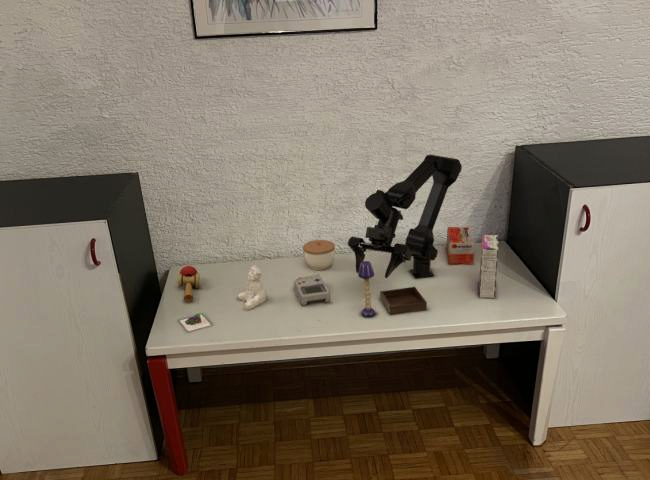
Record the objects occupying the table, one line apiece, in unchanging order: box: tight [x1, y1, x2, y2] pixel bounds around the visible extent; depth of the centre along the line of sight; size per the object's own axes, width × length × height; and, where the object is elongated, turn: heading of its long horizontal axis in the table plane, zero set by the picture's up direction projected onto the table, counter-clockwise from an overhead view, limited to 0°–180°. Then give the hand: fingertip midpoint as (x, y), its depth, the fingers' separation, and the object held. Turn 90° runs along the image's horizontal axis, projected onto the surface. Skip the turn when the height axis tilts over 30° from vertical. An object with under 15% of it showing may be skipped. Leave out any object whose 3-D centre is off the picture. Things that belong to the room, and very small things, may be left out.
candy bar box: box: [478, 234, 499, 299], centre depth 211 cm, size 11×5×16 cm, turn 168°
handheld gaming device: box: [293, 273, 331, 306], centre depth 218 cm, size 9×15×4 cm, turn 12°
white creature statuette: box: [238, 264, 268, 310], centre depth 214 cm, size 10×9×12 cm
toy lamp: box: [357, 260, 376, 318], centre depth 202 cm, size 5×5×17 cm
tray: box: [379, 286, 428, 316], centre depth 210 cm, size 11×11×3 cm
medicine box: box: [446, 226, 475, 265], centre depth 238 cm, size 15×8×8 cm, turn 174°
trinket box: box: [302, 239, 336, 271], centre depth 236 cm, size 11×11×9 cm
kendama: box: [177, 265, 201, 303], centre depth 225 cm, size 8×6×18 cm
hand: (371, 275), depth 203 cm, fingers open, 9 cm apart
